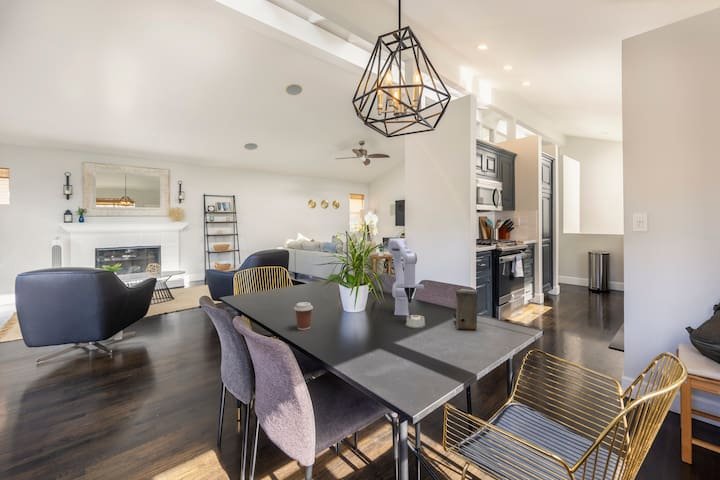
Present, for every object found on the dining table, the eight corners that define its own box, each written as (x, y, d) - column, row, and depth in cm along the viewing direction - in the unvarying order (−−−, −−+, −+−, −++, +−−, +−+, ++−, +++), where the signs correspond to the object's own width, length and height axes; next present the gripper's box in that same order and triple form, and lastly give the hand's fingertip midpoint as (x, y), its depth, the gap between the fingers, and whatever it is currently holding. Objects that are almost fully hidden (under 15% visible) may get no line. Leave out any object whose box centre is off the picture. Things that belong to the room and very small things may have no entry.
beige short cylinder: (410, 322, 169) (410, 314, 169) (420, 323, 168) (420, 314, 168) (410, 325, 164) (410, 317, 164) (421, 326, 163) (421, 317, 163)
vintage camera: (470, 321, 173) (469, 284, 173) (477, 330, 158) (477, 289, 157) (451, 321, 174) (451, 284, 174) (457, 330, 159) (456, 289, 158)
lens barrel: (405, 322, 172) (405, 314, 172) (424, 322, 170) (424, 314, 170) (405, 328, 162) (405, 320, 162) (426, 329, 161) (426, 320, 160)
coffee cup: (308, 323, 169) (308, 300, 169) (316, 328, 162) (315, 304, 161) (291, 326, 165) (291, 303, 164) (298, 332, 157) (298, 307, 156)
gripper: (395, 277, 168) (395, 303, 168) (424, 277, 166) (424, 304, 167) (395, 275, 175) (395, 300, 175) (423, 275, 173) (423, 301, 174)
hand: (409, 302), depth 171 cm, fingers closed
